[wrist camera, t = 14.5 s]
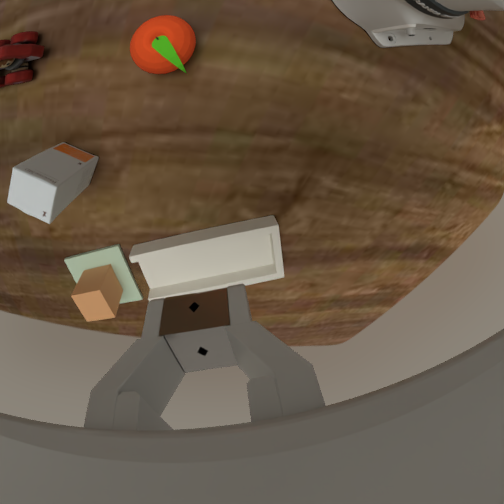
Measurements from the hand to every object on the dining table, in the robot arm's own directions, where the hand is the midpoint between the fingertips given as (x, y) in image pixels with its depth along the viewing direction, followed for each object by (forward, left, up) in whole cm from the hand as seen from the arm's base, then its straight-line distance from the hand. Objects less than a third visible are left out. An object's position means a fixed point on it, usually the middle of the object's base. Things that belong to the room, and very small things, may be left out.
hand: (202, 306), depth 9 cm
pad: (+20, +16, -28) cm, 38 cm away
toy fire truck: (+23, -20, -29) cm, 42 cm away
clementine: (+2, -12, -28) cm, 31 cm away
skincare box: (+17, -2, -28) cm, 33 cm away
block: (+20, +16, -28) cm, 37 cm away
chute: (+3, +16, -28) cm, 32 cm away
